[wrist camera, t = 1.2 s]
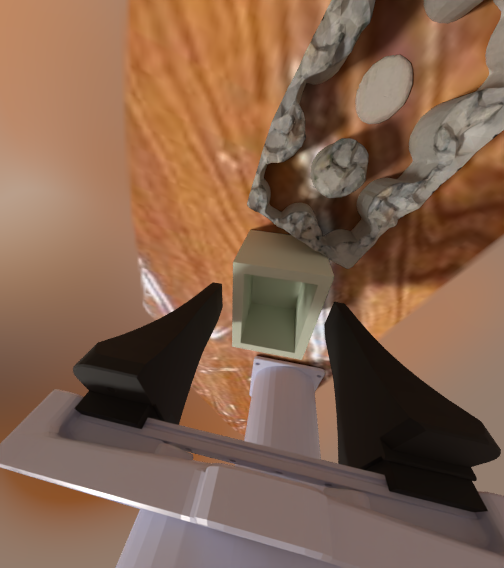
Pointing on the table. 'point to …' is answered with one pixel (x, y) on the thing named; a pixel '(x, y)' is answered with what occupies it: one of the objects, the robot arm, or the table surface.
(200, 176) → the table surface
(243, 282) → the box
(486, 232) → the table surface
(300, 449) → the robot arm
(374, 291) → the table surface
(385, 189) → the egg carton
